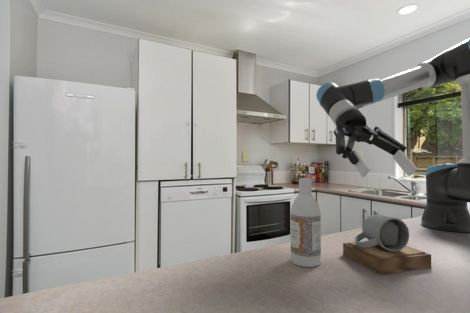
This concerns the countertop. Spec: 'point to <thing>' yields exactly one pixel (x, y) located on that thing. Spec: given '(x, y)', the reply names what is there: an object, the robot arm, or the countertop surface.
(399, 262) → the walnut base
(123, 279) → the countertop surface
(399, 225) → the ceramic mug
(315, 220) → the bath foam
